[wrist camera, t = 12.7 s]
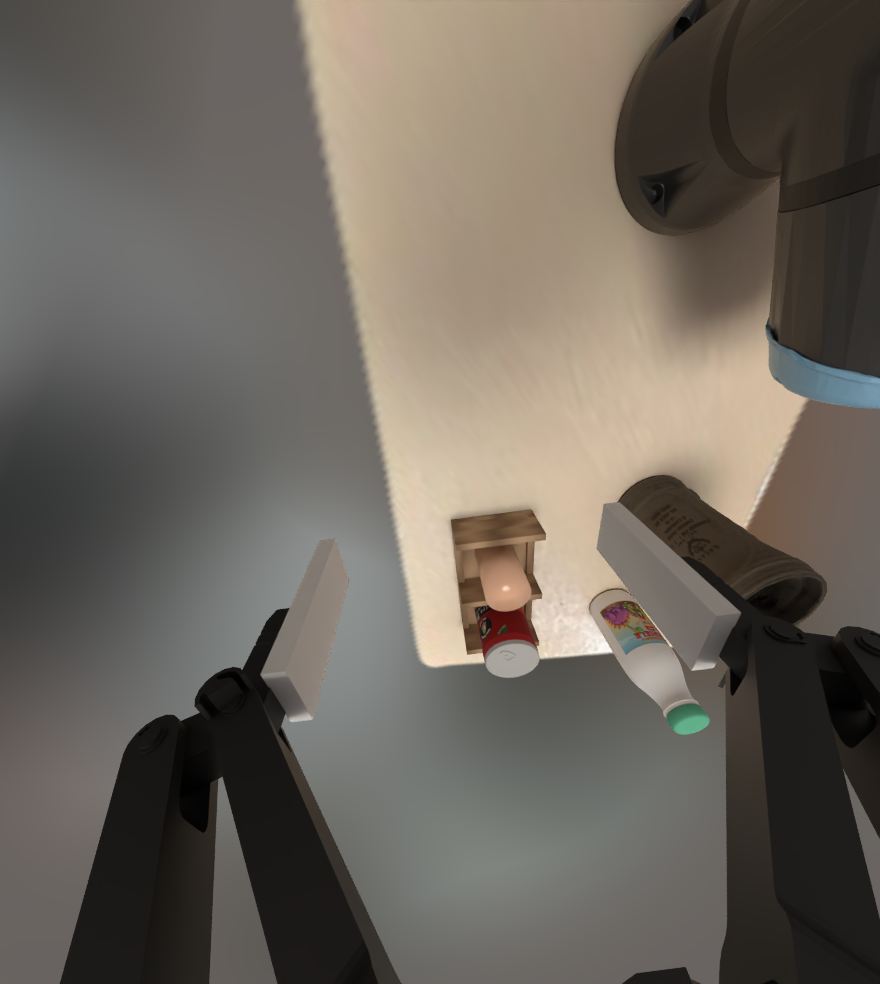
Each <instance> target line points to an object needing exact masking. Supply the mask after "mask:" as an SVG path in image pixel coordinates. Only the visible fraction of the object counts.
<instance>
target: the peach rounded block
mask: <svg viewBox="0 0 880 984" xmlns="http://www.w3.org/2000/svg"><path fill="white" fill-rule="evenodd" d="M475 558H476V562H477V566H478V570H479V574H480V578H481V582H482V586H483V591H484V595H485V599H486V602H487V604H488V605H489V606H490V607H491V608H492V609H494V610H497V611H513V610H516V609H518V608H520V607H522V606H523V605H525V604H526V603H527V602H528V600H529V599H530V597H531V587H530V585H529V582H528V580H527V578H526V575H525V573H524V571H523V568H522V566H521V563H520V561H519V559H518V556H517V554H516V552H515V549H514V547H513V544H509V545H501V546H493V547H485V548H477V549H475Z"/></svg>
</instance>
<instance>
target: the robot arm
mask: <svg viewBox="0 0 880 984" xmlns="http://www.w3.org/2000/svg"><path fill="white" fill-rule="evenodd" d="M615 162H616V174H617V181H618V185H619V189H620V193H621V195H622V198H623V201H624V203H625V205H626V207H627V208H628V210H629V212H630V213H631V215H632V216H633V217H634V218H635V219H636V220H637V221H638V222H639V223H640V224H641V225H642V226H644V227H645V228H647V229H649V230H651V231H653V232H656V233H659V234H664V235H680V234H685V233H689V232H692V231H695V230H698V229H702V228H705V227H708V226H710V225H713V224H715V223H717V222H719V221H721V220H723V219H725V218H726V217H728V216H730V215H731V214H733V213H734V212H736V211H737V210H739V209H740V208H741V207H743V206H744V205H745V204H746V203H748V202H749V201H750V200H752V199H753V198H754V197H756V196H757V195H758V194H759V193H761V192H762V191H763V190H765V189H766V188H767V187H768V186H770V185H771V184H772V183H774V182H775V181H776V180H778V179H779V178H780V177H781V179H780V196H779V209H778V215H777V229H776V243H775V257H774V270H773V281H772V292H771V303H770V314H769V318H768V321H767V324H766V329H765V331H766V336H767V339H768V340H769V369H770V372H771V374H772V376H773V378H774V379H775V380H776V381H778V382H779V383H781V384H782V385H783V386H784V387H785V388H786V389H787V390H789V391H791V392H793V393H795V394H798V395H800V396H803V397H806V398H809V399H812V400H816V401H820V402H824V403H829V404H835V405H842V406H850V407H859V408H874V409H875V408H876V409H880V0H691V1H690V2H689V3H688V4H687V5H686V6H685V7H684V8H683V9H682V10H681V11H680V12H679V14H678V15H677V16H676V17H675V18H674V19H673V20H672V22H671V23H670V24H669V25H668V26H667V27H666V29H665V30H664V31H663V32H662V33H661V35H660V36H659V37H658V38H657V40H656V41H655V42H654V44H653V45H652V47H651V48H650V49H649V51H648V53H647V54H646V56H645V57H644V59H643V61H642V63H641V64H640V66H639V68H638V70H637V72H636V74H635V76H634V78H633V81H632V83H631V85H630V88H629V90H628V93H627V96H626V99H625V102H624V105H623V108H622V112H621V116H620V120H619V125H618V131H617V138H616V152H615ZM597 550H598V551H599V552H600V554H601V555H602V556H603V557H604V559H605V560H606V561H607V563H608V564H609V565H610V566H611V568H612V569H613V570H614V572H615V573H616V574H617V575H618V577H619V578H620V579H621V581H622V582H623V583H624V584H625V586H626V587H627V588H628V590H629V591H630V592H631V593H632V595H633V596H634V597H635V599H636V600H637V601H638V602H639V604H640V605H641V606H642V608H643V609H644V610H645V611H646V613H647V614H648V615H649V617H650V618H651V619H652V620H653V622H654V623H655V624H656V626H657V627H658V628H659V629H660V631H661V632H662V633H663V635H664V636H665V637H666V638H667V640H668V641H669V642H670V643H671V645H672V646H673V647H674V649H675V650H676V651H677V652H678V654H679V655H680V656H681V657H682V659H683V660H684V661H685V663H686V664H687V665H688V667H689V668H690V669H691V670H692V671H694V670H701V669H709V668H714V666H715V664H716V662H717V660H718V658H719V657H720V658H721V659H722V660H723V661H724V662H725V663H726V664H727V666H728V667H727V669H726V671H725V673H724V675H723V677H722V679H721V680H720V683H719V687H721V688H723V686H724V684H725V685H726V686H725V687H726V688H725V689H726V690H725V691H726V814H727V815H726V822H727V824H726V825H727V930H726V936H725V940H724V943H723V947H722V951H721V958H720V970H719V984H880V918H879V914H878V910H877V906H876V902H875V898H874V894H873V890H872V885H871V881H870V877H869V873H868V870H867V865H866V862H865V857H864V853H863V849H862V845H861V841H860V837H859V833H858V829H857V824H856V821H855V816H854V813H853V808H852V804H851V800H850V796H849V792H848V788H847V784H846V780H845V776H844V772H843V769H844V771H845V773H846V775H847V777H848V779H849V781H850V783H851V785H852V787H853V788H854V790H855V792H856V794H857V796H858V798H859V800H860V802H861V804H862V805H863V808H864V810H865V812H866V813H867V815H868V817H869V819H870V821H871V823H872V825H873V827H874V829H875V831H876V833H877V835H878V836H879V838H880V634H878V633H876V632H874V631H871V630H868V629H864V628H860V627H851V626H847V627H844V628H841V629H840V630H839V632H838V633H837V634H836V636H835V637H833V636H826V635H818V634H811V633H804V632H803V631H802V630H800V629H799V628H797V627H796V626H794V625H793V624H791V623H789V622H787V621H784V620H782V619H779V618H775V617H771V616H764V615H763V614H762V613H760V612H759V611H758V610H757V609H756V608H755V607H753V606H752V605H751V604H750V603H749V602H748V601H746V600H745V599H744V598H743V597H742V596H741V595H739V594H738V593H737V592H736V591H735V590H734V589H732V588H731V587H730V586H729V585H728V584H725V582H724V581H723V580H722V579H721V578H720V577H718V576H716V574H715V573H714V572H713V571H711V570H710V569H709V568H708V567H707V566H706V565H704V564H703V563H701V562H699V561H697V560H695V559H693V558H691V557H689V556H687V557H679V556H678V555H677V554H676V553H675V552H674V551H673V550H672V549H671V548H669V547H668V546H667V545H666V544H665V543H664V542H663V541H662V540H661V539H660V538H658V537H657V536H656V535H655V534H654V533H653V532H652V531H651V530H650V529H649V528H647V527H646V526H645V525H644V524H643V523H642V522H641V521H640V520H639V519H638V518H636V517H635V516H634V515H633V514H632V513H631V512H630V511H629V510H628V509H627V508H625V507H624V506H623V505H622V504H621V503H620V502H616V503H608V504H604V506H603V512H602V518H601V525H600V531H599V537H598V543H597ZM348 583H349V578H348V575H347V572H346V569H345V566H344V563H343V560H342V557H341V554H340V551H339V548H338V545H337V542H336V539H327V540H320V541H319V543H318V545H317V547H316V550H315V552H314V554H313V556H312V559H311V561H310V563H309V565H308V568H307V570H306V572H305V575H304V577H303V579H302V582H301V584H300V586H299V589H298V590H297V593H296V595H295V597H294V599H293V602H292V604H291V606H290V608H287V609H279V610H276V611H275V613H274V614H273V615H272V616H271V617H270V618H269V619H268V620H267V622H266V624H265V626H264V628H263V630H262V632H261V635H260V636H259V638H258V640H257V642H256V646H254V648H253V650H252V652H251V654H250V656H249V658H248V660H247V662H246V664H245V666H244V668H243V670H241V668H236V667H232V668H227V669H224V670H222V671H220V672H218V673H216V674H215V675H213V676H212V677H211V678H210V679H208V680H207V681H206V682H205V683H204V685H203V686H202V687H201V688H200V689H199V691H198V694H197V696H196V698H195V707H196V708H197V710H198V711H199V712H200V713H198V714H196V715H194V716H191V717H189V718H187V719H184V720H182V721H180V720H179V719H178V718H177V717H176V716H174V715H164V716H162V717H159V718H156V719H155V720H153V721H152V722H150V723H148V724H147V725H145V726H144V727H143V728H142V729H141V730H140V731H139V732H138V733H137V734H136V735H135V736H134V737H133V738H132V740H131V741H130V742H129V744H128V745H127V747H126V749H125V752H124V754H123V757H122V761H121V764H120V768H119V771H118V775H117V779H116V783H115V786H114V790H113V793H112V797H111V800H110V804H109V808H108V812H107V815H106V819H105V822H104V826H103V829H102V833H101V837H100V840H99V844H98V848H97V851H96V855H95V859H94V862H93V866H92V869H91V873H90V876H89V880H88V884H87V888H86V891H85V895H84V898H83V902H82V906H81V909H80V913H79V916H78V920H77V924H76V927H75V931H74V934H73V938H72V942H71V945H70V949H69V953H68V957H67V960H66V963H65V967H64V971H63V975H62V979H61V981H60V984H209V974H210V952H211V929H212V906H213V883H214V882H213V881H214V860H215V838H216V813H217V792H218V779H219V778H221V777H223V780H224V784H225V787H226V791H227V795H228V798H229V803H230V806H231V810H232V814H233V817H234V821H235V825H236V829H237V833H238V837H239V840H240V844H241V848H242V851H243V855H244V859H245V863H246V867H247V870H248V874H249V878H250V882H251V886H252V889H253V893H254V896H255V901H256V904H257V908H258V912H259V916H260V919H261V923H262V927H263V931H264V935H265V938H266V942H267V946H268V950H269V953H270V956H271V961H272V965H273V968H274V972H275V976H276V980H277V983H278V984H401V982H400V980H399V978H398V976H397V975H396V972H395V971H394V968H393V967H392V964H391V962H390V960H389V958H388V956H387V953H386V951H385V949H384V947H383V945H382V943H381V941H380V938H379V936H378V934H377V932H376V930H375V927H374V925H373V923H372V921H371V919H370V917H369V914H368V912H367V910H366V908H365V906H364V904H363V901H362V899H361V897H360V895H359V893H358V891H357V889H356V886H355V884H354V882H353V880H352V878H351V875H350V874H349V871H348V869H347V867H346V865H345V863H344V860H343V858H342V856H341V854H340V852H339V850H338V847H337V845H336V843H335V841H334V839H333V836H332V834H331V832H330V830H329V828H328V826H327V823H326V821H325V819H324V817H323V815H322V813H321V810H320V809H319V806H318V804H317V802H316V800H315V797H314V795H313V793H312V791H311V789H310V787H309V784H308V782H307V780H306V778H305V776H304V774H303V772H302V769H301V767H300V765H299V763H298V761H297V758H296V756H295V754H294V752H293V750H292V748H291V745H290V744H289V741H288V739H287V737H286V735H285V733H284V730H283V729H282V727H281V725H282V722H283V719H284V716H285V714H286V715H287V717H288V718H289V720H290V721H291V722H297V721H305V720H313V718H314V714H315V710H316V706H317V703H318V699H319V695H320V691H321V687H322V683H323V680H324V675H325V672H326V668H327V664H328V660H329V656H330V652H331V649H332V644H333V641H334V637H335V633H336V629H337V625H338V622H339V618H340V614H341V610H342V606H343V603H344V599H345V595H346V591H347V587H348ZM842 767H843V768H842ZM623 984H700V983H698V982H696V981H694V980H692V979H690V977H689V974H688V972H687V969H686V968H685V967H682V968H674V969H666V970H659V971H651V972H644V973H636V974H635V975H633V976H632V977H631V978H629V979H628V980H626V981H625V982H624V983H623Z"/></svg>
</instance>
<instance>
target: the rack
mask: <svg viewBox="0 0 880 984" xmlns="http://www.w3.org/2000/svg"><path fill="white" fill-rule="evenodd" d="M451 523H452V532H453V541H454V550H455V559H456V568H457V577H458V586H459V595H460V604H461V613H462V622H463V629H464V636H465V643H466V650H467V655H468V654H476V653H483V651H482V646H481V641H480V635H479V630H478V625H477V620H476V615H475V609H474V607H479V606H487V605H488V604H487V602H486V599H485V595H484V591H483V586H482V582H481V578H480V574H479V570H478V566H477V562H476V558H475V549H477V548H485V547H493V546H501V545H509V544H513V547H514V549H515V552H516V554H517V556H518V559H519V561H520V563H521V566H522V568H523V571H524V573H525V575H526V578H527V580H528V582H529V585H530V587H531V597H530V599H529V600H528V602H527V603H526V604H525V605H523V606H522V608H523V611H524V614H525V616H526V619H527V622H528V624H529V627H530V630H531V633H532V635H533V638H534V641H535V643H536V646H539V640H538V637H537V635H536V632H535V629H534V627H533V624H532V621H531V612H532V600H534V599H542V592H541V590H540V588H539V586H538V584H537V581H536V579H535V577H534V575H533V564H534V541H540V540H546V533H545V531H544V530H543V528H542V526H541V525H540V523H539V521H538V520H537V518H536V516H535V515H534V513H533V511H532V510H526V511H518V512H510V513H502V514H494V515H487V516H479V517H471V518H463V519H455V520H451Z"/></svg>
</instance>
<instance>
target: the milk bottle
mask: <svg viewBox="0 0 880 984" xmlns="http://www.w3.org/2000/svg"><path fill="white" fill-rule="evenodd" d="M590 613H591V615H592V617H593V619H594V621H595V622H596V624H597V626H598V627H599V629H600V631H601V633H602V634H603V636H604V638H605V639H606V641H607V643H608V644H609V646H610V648H611V649H612V651H613V653H614V654H615V656H616V658H617V660H618V661H619V663H620V664H621V666H622V667H623V669H624V671H625V672H626V673H627V674H628V676H629V677H630V679H631V680H632V681H633V682H634V683H635V684H636V685H637V686H638V687H639V688H640V689H642V690H643V691H644V692H645V693H647V694H648V695H649V696H650V697H651V698H653V699H654V700H655V701H656V702H657V704H658V705H659V706H660V707H661V708H662V709H663V711H664V712H663V714H664V716H665V717H666V718H667V721H668V723H669V725H670V726H671V727H672V729H673V730H674V731H675V732H676V733H678V734H691V733H695V732H698V731H700V730H702V729H704V728H705V727H706V726H707V725H708V724H709V721H710V720H709V717H708V715H707V714H706V713H705V711H704V710H703V709H702V707H701V706H700V705H699V703H698V702H697V701H696V700H694V699H693V698H692V697H691V695H690V693H689V691H688V688H687V686H686V683H685V679H684V675H683V671H682V668H681V665H680V663H679V660H678V658H677V657H676V655H675V653H674V652H673V650H672V649H671V647H670V646H669V645H668V643H667V642H666V640H665V639H664V638H663V636H662V635H661V634H660V632H659V631H658V630H657V628H656V627H655V626H654V625H653V623H652V622H651V621H650V619H649V618H648V617H647V615H646V614H645V613H644V612H643V610H642V609H641V608H640V606H639V605H638V604H637V603H636V601H635V600H634V599H633V597H632V596H631V595H630V594H629V593H627V592H625V591H623V590H610V591H606V592H604V593H602V594H600V595H599V596H597V597H596V598H595V599H594V600H593V601H592V603H591V606H590Z"/></svg>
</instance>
